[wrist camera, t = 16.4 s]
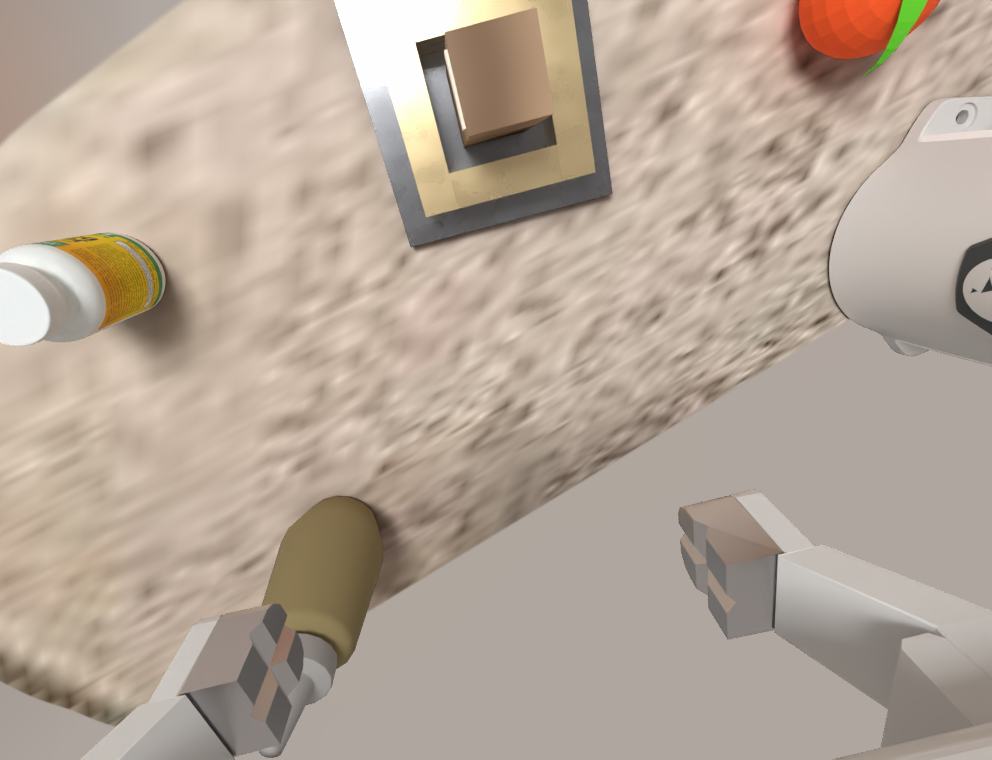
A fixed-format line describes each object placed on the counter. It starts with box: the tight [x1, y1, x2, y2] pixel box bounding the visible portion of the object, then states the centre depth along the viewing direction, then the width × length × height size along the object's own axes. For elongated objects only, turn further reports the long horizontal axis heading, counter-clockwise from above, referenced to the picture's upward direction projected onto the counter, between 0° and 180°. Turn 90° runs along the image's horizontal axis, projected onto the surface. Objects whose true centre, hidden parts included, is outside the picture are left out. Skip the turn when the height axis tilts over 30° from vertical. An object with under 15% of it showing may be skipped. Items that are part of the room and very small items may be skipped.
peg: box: [444, 7, 554, 148], centre depth 25 cm, size 4×4×9 cm
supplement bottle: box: [0, 232, 166, 346], centre depth 27 cm, size 5×5×10 cm
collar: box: [334, 0, 612, 247], centre depth 28 cm, size 14×14×4 cm
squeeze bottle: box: [259, 496, 383, 758], centre depth 33 cm, size 8×8×18 cm
